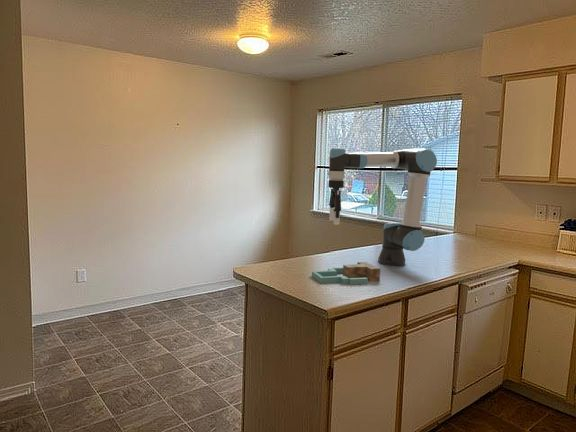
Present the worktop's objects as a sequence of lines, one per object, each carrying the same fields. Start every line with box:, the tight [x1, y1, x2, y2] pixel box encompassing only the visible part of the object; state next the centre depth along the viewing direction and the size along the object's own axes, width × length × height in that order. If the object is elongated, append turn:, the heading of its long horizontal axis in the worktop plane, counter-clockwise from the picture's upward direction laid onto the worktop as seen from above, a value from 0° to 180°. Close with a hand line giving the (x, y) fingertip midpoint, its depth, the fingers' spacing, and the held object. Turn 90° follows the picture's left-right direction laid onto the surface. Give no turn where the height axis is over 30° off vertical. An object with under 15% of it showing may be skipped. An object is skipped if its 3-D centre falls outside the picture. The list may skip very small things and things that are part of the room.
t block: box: [342, 261, 381, 282], centre depth 210 cm, size 15×14×6 cm
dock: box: [311, 266, 369, 285], centre depth 207 cm, size 22×21×2 cm
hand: (334, 222), depth 214 cm, fingers open, 13 cm apart
